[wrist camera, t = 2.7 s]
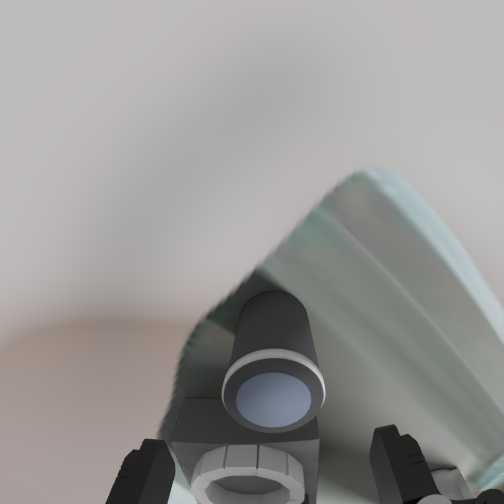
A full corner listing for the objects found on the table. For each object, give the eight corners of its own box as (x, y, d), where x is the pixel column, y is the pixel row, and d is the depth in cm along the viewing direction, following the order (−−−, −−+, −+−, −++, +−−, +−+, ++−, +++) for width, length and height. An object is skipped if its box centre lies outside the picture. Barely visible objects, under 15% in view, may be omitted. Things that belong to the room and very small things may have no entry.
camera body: (312, 392, 23) (322, 461, 16) (311, 466, 25) (317, 524, 19) (185, 398, 24) (163, 462, 17) (208, 469, 26) (197, 525, 19)
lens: (307, 286, 21) (327, 355, 13) (310, 349, 22) (325, 431, 14) (233, 292, 21) (212, 363, 13) (242, 354, 22) (229, 437, 14)
